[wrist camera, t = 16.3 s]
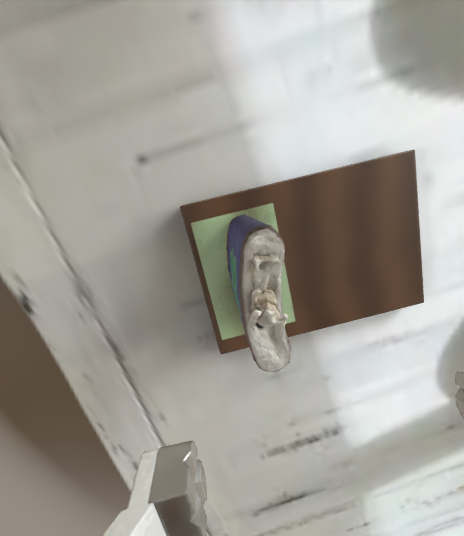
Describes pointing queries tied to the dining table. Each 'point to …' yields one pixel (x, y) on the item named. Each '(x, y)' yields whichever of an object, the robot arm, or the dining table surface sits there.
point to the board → (320, 245)
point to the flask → (259, 289)
